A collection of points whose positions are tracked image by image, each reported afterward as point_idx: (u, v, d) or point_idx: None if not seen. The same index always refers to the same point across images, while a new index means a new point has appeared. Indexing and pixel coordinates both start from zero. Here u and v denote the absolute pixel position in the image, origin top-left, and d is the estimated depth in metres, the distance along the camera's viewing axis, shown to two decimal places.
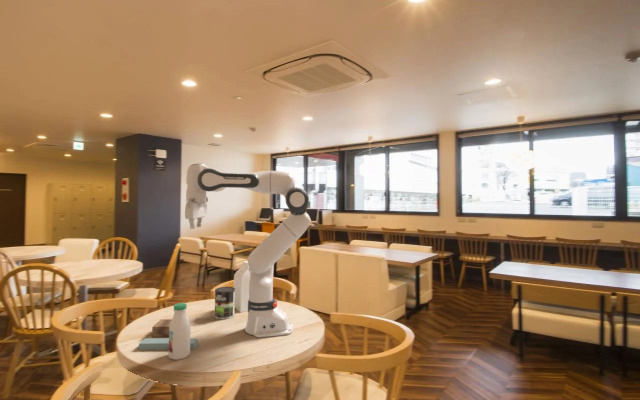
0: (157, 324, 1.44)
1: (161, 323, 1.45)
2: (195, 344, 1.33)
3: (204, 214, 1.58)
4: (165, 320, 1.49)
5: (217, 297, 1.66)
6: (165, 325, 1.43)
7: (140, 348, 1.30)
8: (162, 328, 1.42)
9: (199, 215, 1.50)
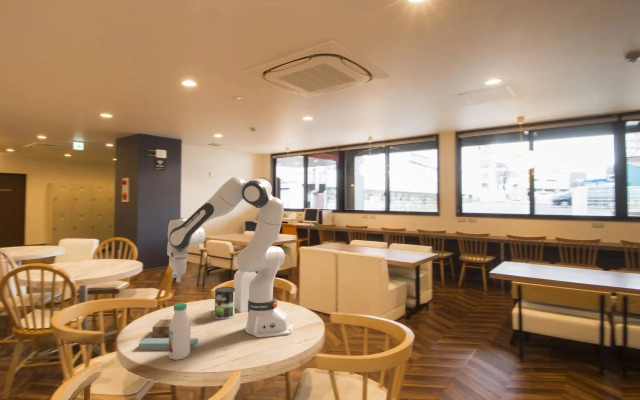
0: (157, 324, 1.44)
1: (161, 323, 1.45)
2: (195, 344, 1.33)
3: (175, 270, 1.49)
4: (165, 320, 1.49)
5: (217, 297, 1.66)
6: (165, 325, 1.43)
7: (140, 348, 1.30)
8: (162, 328, 1.42)
9: (172, 267, 1.55)
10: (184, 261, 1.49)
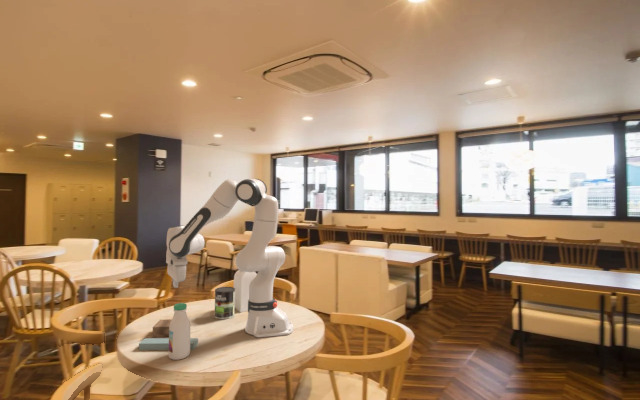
0: (157, 324, 1.44)
1: (161, 324, 1.45)
2: (195, 344, 1.33)
3: (175, 278, 1.50)
4: (164, 320, 1.49)
5: (217, 297, 1.66)
6: (165, 325, 1.43)
7: (140, 348, 1.30)
8: (163, 328, 1.42)
9: (171, 275, 1.56)
10: (183, 268, 1.50)
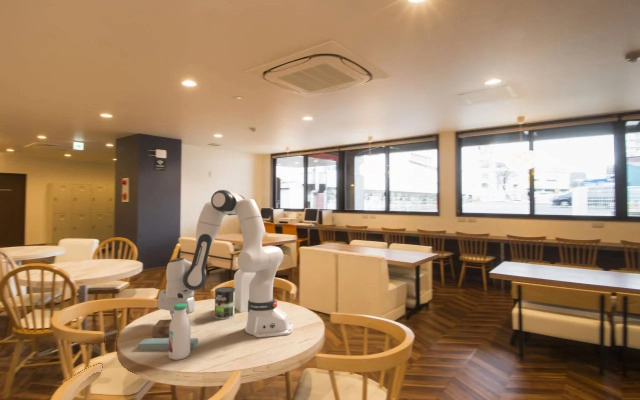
0: (157, 324, 1.44)
1: (161, 324, 1.45)
2: (195, 344, 1.33)
3: None
4: (164, 320, 1.49)
5: (217, 297, 1.66)
6: (165, 325, 1.43)
7: (140, 348, 1.30)
8: (163, 328, 1.42)
9: (171, 308, 1.55)
10: (192, 300, 1.55)
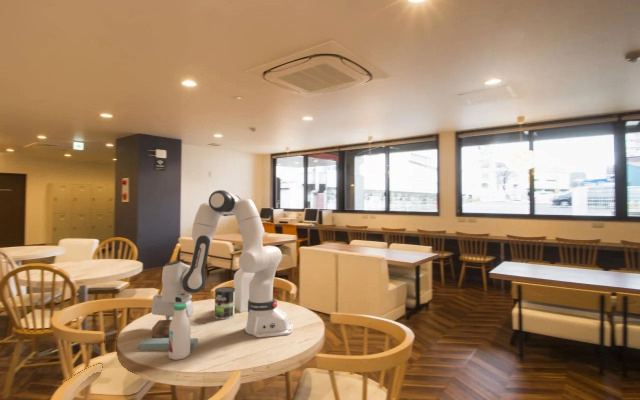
0: (156, 325, 1.43)
1: (161, 324, 1.44)
2: (195, 344, 1.33)
3: None
4: (163, 321, 1.48)
5: (217, 297, 1.66)
6: (165, 326, 1.42)
7: (140, 348, 1.30)
8: (162, 328, 1.41)
9: (167, 313, 1.50)
10: (191, 303, 1.51)
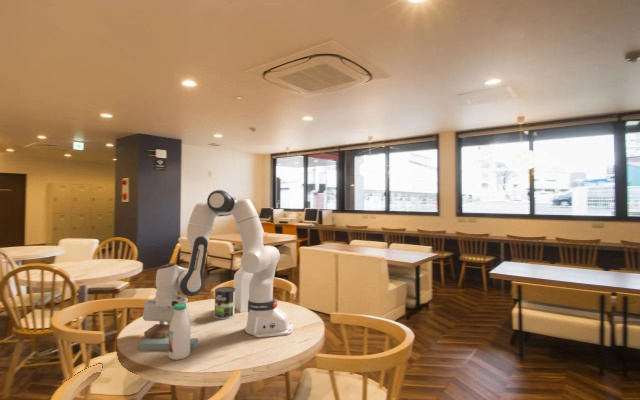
0: (150, 329, 1.38)
1: (154, 329, 1.39)
2: (195, 344, 1.33)
3: None
4: (160, 325, 1.43)
5: (217, 297, 1.66)
6: (157, 331, 1.37)
7: (140, 348, 1.30)
8: (154, 334, 1.36)
9: (162, 319, 1.44)
10: (187, 307, 1.46)
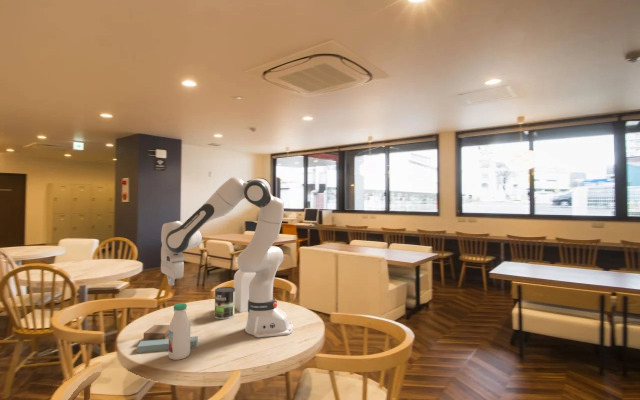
0: (149, 330, 1.38)
1: (154, 329, 1.39)
2: (196, 342, 1.35)
3: (172, 275, 1.43)
4: (158, 326, 1.43)
5: (217, 297, 1.66)
6: (156, 332, 1.36)
7: (139, 351, 1.27)
8: (153, 334, 1.35)
9: (166, 272, 1.49)
10: (181, 265, 1.44)
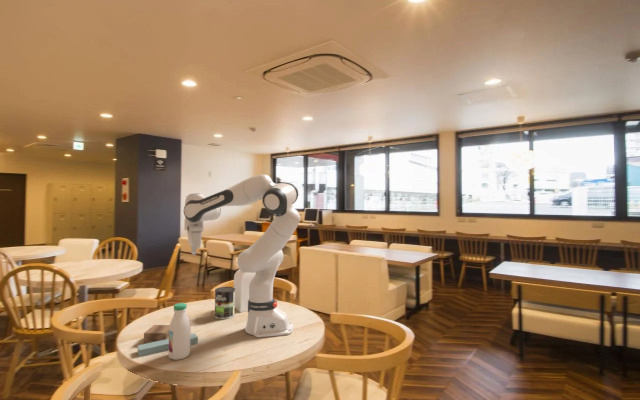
0: (149, 330, 1.38)
1: (154, 329, 1.38)
2: None
3: (191, 244, 1.51)
4: (158, 326, 1.43)
5: (217, 297, 1.66)
6: (157, 332, 1.36)
7: (140, 355, 1.25)
8: (154, 334, 1.35)
9: (189, 242, 1.58)
10: (199, 235, 1.50)
